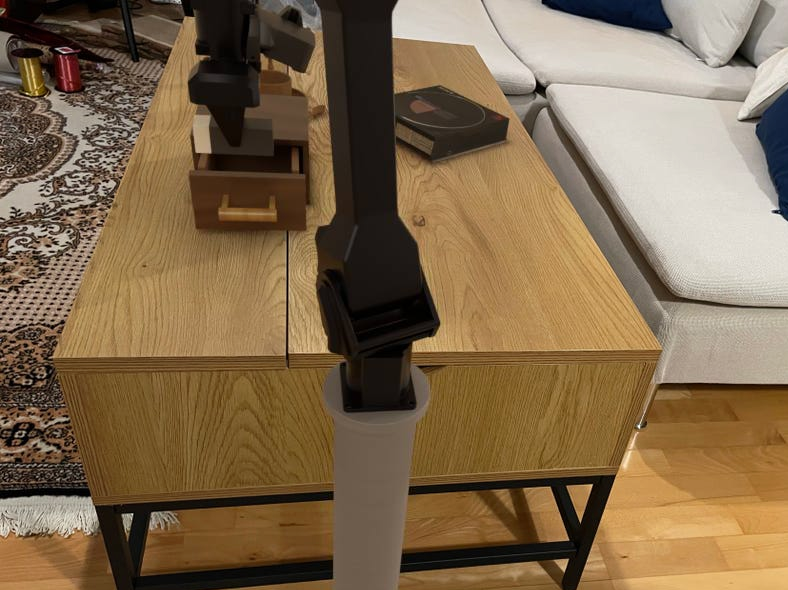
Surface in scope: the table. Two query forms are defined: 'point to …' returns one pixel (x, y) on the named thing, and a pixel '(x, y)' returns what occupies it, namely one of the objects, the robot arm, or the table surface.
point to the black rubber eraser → (253, 138)
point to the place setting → (282, 86)
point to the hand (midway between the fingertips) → (235, 139)
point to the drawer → (249, 191)
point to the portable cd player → (445, 123)
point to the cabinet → (278, 127)
